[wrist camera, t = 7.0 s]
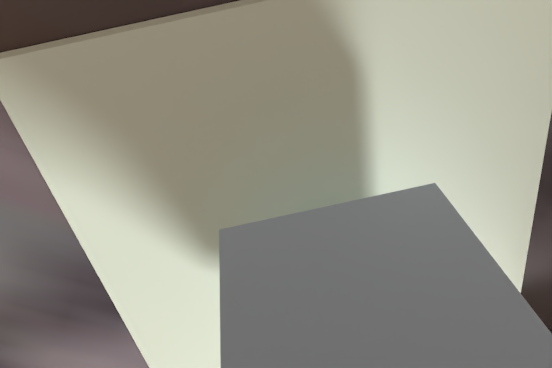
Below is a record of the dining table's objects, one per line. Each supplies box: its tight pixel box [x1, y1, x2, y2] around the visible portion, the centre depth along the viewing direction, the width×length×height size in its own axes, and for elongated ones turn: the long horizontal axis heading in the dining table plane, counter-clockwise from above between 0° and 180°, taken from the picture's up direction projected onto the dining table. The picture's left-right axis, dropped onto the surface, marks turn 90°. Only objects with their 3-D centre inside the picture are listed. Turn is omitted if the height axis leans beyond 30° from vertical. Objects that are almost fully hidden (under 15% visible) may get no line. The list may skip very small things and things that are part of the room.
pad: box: [0, 0, 552, 368], centre depth 12 cm, size 12×12×1 cm
